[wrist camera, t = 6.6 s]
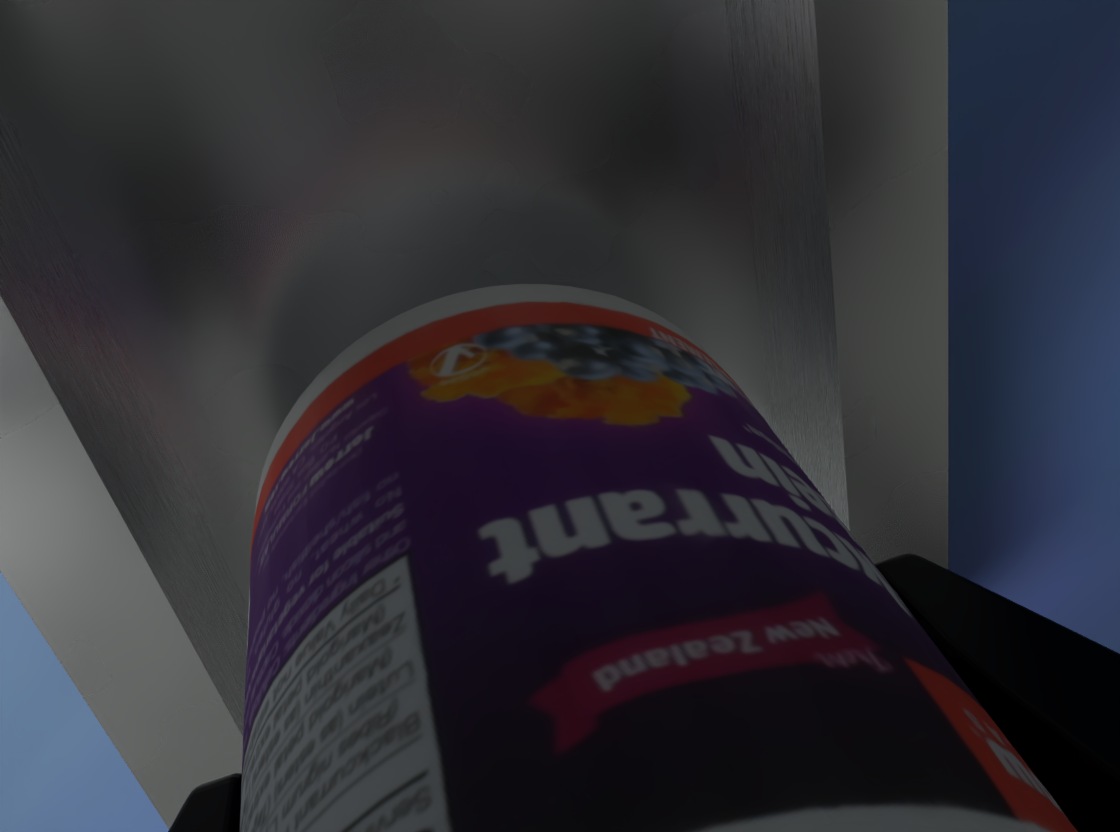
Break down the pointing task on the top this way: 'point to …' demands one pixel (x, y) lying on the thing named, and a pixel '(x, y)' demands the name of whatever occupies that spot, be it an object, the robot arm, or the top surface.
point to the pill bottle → (582, 603)
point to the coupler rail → (427, 269)
